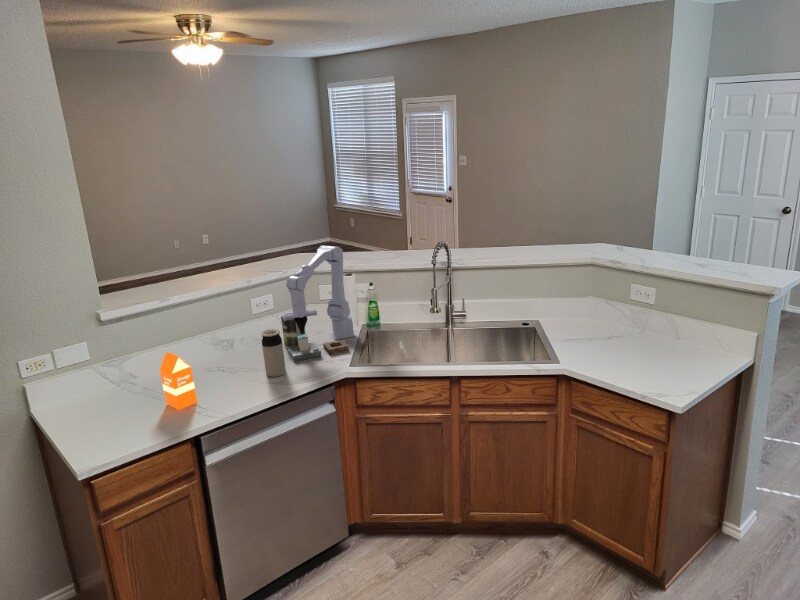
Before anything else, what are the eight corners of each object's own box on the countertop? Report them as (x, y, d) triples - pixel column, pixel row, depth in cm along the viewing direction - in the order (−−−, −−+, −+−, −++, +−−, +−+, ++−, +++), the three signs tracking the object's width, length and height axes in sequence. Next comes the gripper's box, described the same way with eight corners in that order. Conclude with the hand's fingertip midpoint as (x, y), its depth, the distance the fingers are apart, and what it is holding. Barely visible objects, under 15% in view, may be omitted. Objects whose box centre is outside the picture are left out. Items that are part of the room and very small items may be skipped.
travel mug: (275, 378, 230) (269, 336, 225) (262, 374, 235) (256, 333, 229) (290, 371, 236) (284, 330, 231) (277, 367, 241) (271, 327, 235)
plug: (308, 353, 254) (305, 334, 252) (310, 356, 251) (307, 336, 248) (299, 354, 253) (297, 335, 250) (301, 357, 250) (299, 338, 247)
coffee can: (287, 350, 259) (283, 321, 254) (282, 343, 268) (278, 315, 264) (309, 346, 263) (306, 317, 258) (303, 339, 272) (300, 311, 268)
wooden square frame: (342, 344, 261) (342, 339, 261) (348, 351, 253) (348, 345, 253) (323, 348, 258) (323, 343, 258) (329, 355, 250) (328, 349, 250)
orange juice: (185, 396, 219) (175, 348, 213) (197, 402, 214) (188, 352, 208) (166, 405, 214) (156, 355, 208) (178, 411, 208) (168, 360, 202)
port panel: (314, 348, 259) (314, 341, 258) (321, 357, 249) (320, 350, 248) (288, 353, 255) (287, 346, 254) (294, 362, 245) (293, 355, 244)
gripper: (283, 308, 239) (287, 339, 243) (317, 303, 244) (320, 332, 248) (280, 304, 245) (284, 334, 249) (313, 299, 250) (316, 328, 254)
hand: (302, 333), depth 249 cm, fingers closed
